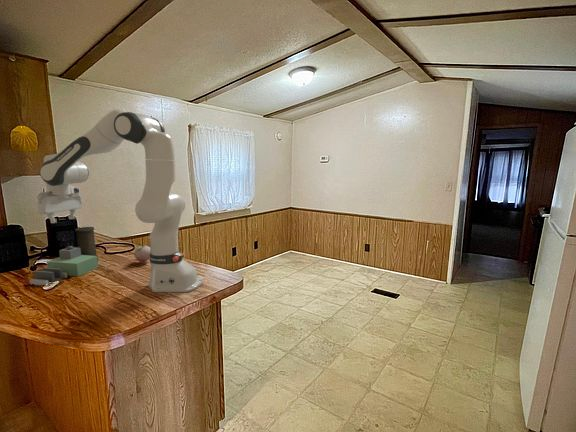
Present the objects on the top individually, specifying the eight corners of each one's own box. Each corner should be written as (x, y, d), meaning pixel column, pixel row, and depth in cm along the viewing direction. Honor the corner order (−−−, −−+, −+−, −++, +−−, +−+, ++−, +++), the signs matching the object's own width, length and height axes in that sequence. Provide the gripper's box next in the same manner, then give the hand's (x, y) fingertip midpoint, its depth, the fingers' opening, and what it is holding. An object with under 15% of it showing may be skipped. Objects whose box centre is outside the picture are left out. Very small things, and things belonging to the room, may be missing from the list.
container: (100, 261, 164) (97, 228, 161) (81, 265, 157) (77, 230, 154) (94, 258, 170) (91, 225, 166) (75, 261, 163) (71, 228, 160)
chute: (46, 278, 141) (44, 267, 140) (63, 279, 139) (61, 268, 138) (35, 282, 136) (33, 271, 135) (53, 283, 134) (51, 272, 133)
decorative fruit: (149, 265, 159) (148, 246, 158) (132, 265, 158) (131, 246, 156) (155, 259, 168) (153, 241, 167) (138, 259, 167) (137, 241, 166)
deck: (98, 267, 155) (96, 245, 153) (54, 286, 131) (51, 260, 129) (70, 265, 157) (67, 243, 155) (22, 283, 134) (18, 258, 132)
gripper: (44, 192, 129) (48, 225, 131) (83, 188, 149) (86, 217, 151) (30, 192, 130) (35, 225, 132) (71, 188, 150) (75, 217, 152)
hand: (63, 221), depth 142 cm, fingers open, 8 cm apart
